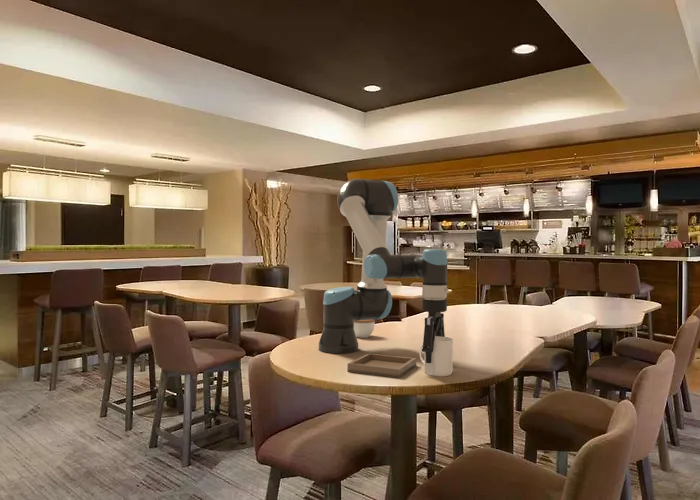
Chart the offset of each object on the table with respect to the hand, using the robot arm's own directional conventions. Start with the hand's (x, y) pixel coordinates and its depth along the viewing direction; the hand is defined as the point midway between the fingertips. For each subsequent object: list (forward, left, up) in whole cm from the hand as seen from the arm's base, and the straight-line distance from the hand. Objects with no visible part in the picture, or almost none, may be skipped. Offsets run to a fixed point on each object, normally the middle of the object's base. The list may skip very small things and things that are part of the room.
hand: (434, 369), depth 156 cm
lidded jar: (-45, +48, -1) cm, 66 cm away
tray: (-16, -3, -1) cm, 16 cm away
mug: (0, 0, -1) cm, 1 cm away
